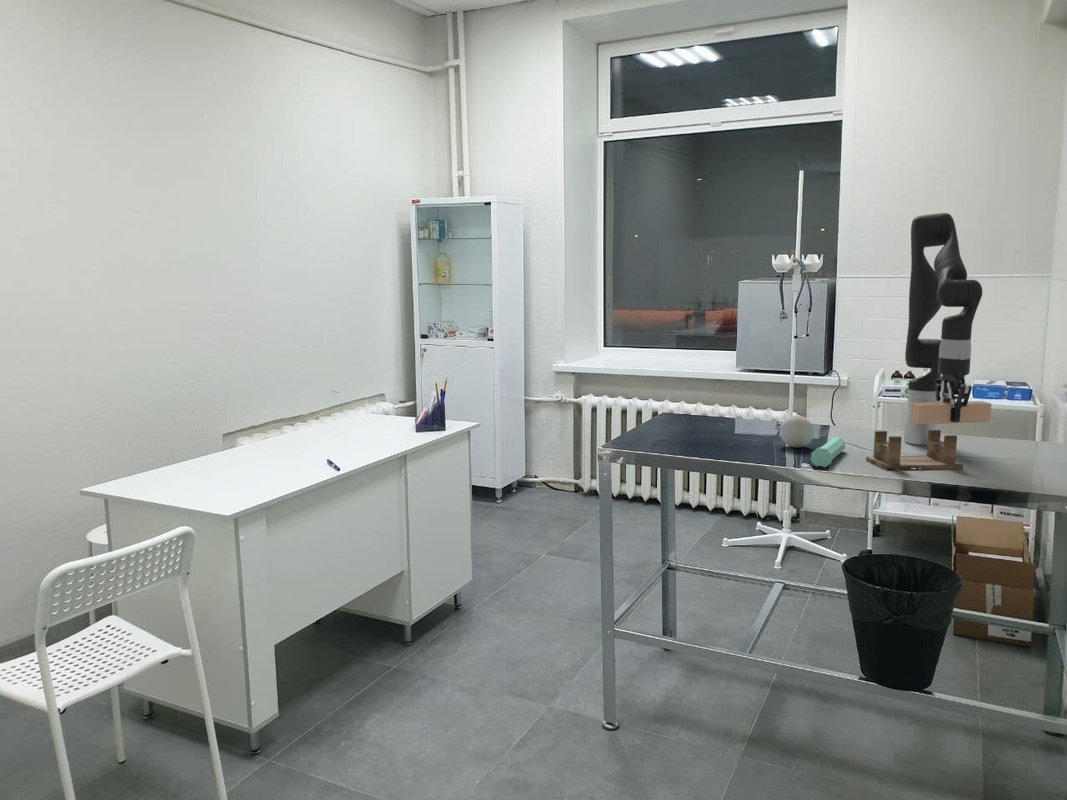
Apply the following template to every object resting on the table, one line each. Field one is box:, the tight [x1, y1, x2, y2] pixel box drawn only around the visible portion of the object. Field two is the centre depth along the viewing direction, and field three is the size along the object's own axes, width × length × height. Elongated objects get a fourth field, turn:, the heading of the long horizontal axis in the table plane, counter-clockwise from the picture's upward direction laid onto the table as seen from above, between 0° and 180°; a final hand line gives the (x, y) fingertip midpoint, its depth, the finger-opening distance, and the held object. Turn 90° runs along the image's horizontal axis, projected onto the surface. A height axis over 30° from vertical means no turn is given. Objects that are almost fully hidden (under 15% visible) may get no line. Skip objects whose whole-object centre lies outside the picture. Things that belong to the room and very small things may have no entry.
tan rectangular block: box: [910, 400, 992, 425], centre depth 223 cm, size 4×20×5 cm, turn 95°
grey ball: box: [779, 415, 815, 449], centre depth 261 cm, size 10×10×10 cm
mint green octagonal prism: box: [810, 436, 846, 468], centre depth 246 cm, size 6×6×25 cm
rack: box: [865, 429, 964, 471], centre depth 237 cm, size 12×22×9 cm, turn 94°
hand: (949, 419), depth 223 cm, fingers closed on tan rectangular block, 4 cm apart
